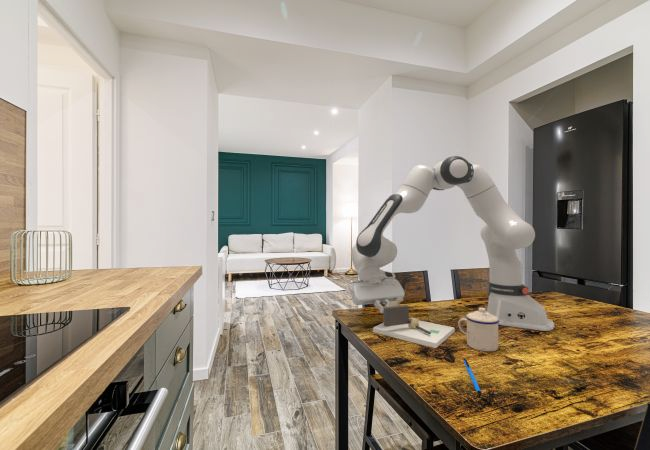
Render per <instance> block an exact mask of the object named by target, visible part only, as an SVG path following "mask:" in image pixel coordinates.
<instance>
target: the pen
mask: <svg viewBox="0 0 650 450" xmlns="http://www.w3.org/2000/svg"><path fill="white" fill-rule="evenodd" d="M463 363H464V365H465V368H466V371H467V373H468V374H469V376H470V380H471V382H472V384H473V386H474V389H475V391H476V393H477V394H478V396H479V397H480V398H482V396H483V395H482V390H481V389H480V387H479V384H478V382H477V380H476V378H475V375H474V373H473V371H472V369H471V367H470V364H469V361H468V360H467V359H466V358H463Z"/></svg>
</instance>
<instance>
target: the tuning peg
mask: <svg viewBox="0 0 650 450" xmlns="http://www.w3.org/2000/svg"><path fill="white" fill-rule="evenodd" d="M383 307H384V313H383V322H384V326H386V327H388V326H395V325H402V324H408V326H409V327H411V328H417V329H419V330H421V331H423V332H425V333H427V334H431V332H429V331H427V330H425V329H423V328H421V327H419V320H420V319H419V318H418V317H410V305H408V304H403V305H402V304H401V305H400V306H393V307H385V306H383Z"/></svg>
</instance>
